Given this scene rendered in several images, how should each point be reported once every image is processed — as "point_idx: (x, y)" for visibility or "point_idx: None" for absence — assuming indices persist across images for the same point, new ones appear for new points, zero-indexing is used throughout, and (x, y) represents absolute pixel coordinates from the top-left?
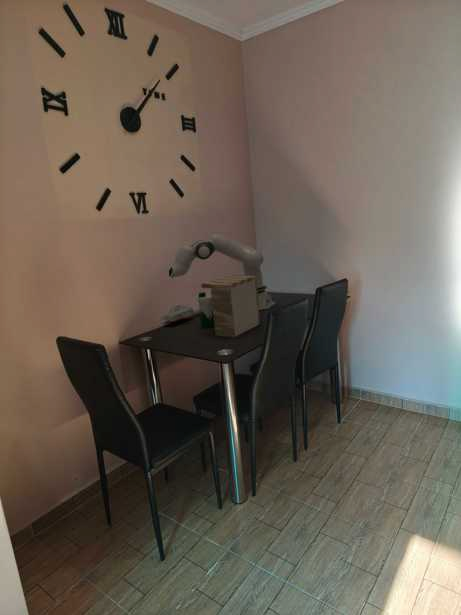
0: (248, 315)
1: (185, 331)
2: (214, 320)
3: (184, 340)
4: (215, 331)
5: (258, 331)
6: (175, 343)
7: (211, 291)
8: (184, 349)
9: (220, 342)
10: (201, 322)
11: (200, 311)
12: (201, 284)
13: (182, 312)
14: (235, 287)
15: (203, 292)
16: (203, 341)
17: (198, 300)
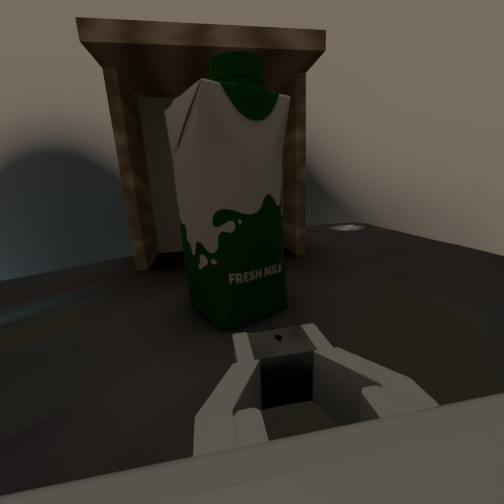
0: None
1: (408, 323)
2: (304, 203)
3: (431, 267)
4: (304, 242)
5: None
6: (477, 265)
7: (304, 88)
8: (437, 243)
9: (327, 239)
10: (284, 275)
11: (281, 201)
12: (325, 32)
13: (368, 425)
14: None
15: (212, 61)
16: (363, 249)
17: (287, 116)
